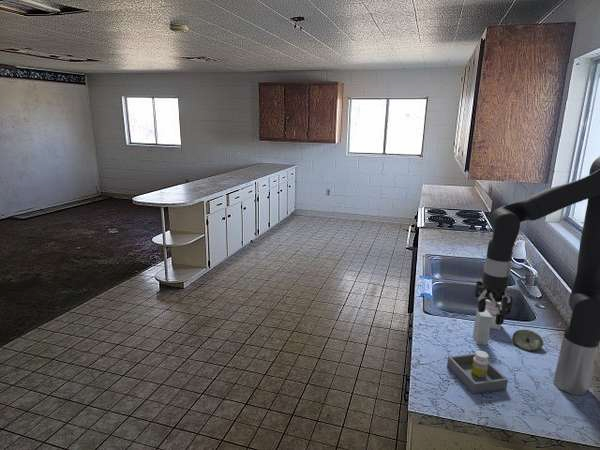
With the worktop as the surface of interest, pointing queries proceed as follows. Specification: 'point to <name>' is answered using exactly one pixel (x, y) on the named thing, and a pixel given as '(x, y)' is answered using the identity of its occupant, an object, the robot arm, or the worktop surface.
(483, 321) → the skincare box
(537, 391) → the worktop surface
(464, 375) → the tray
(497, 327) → the ink cartridge box
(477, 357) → the supplement bottle
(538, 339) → the lid
